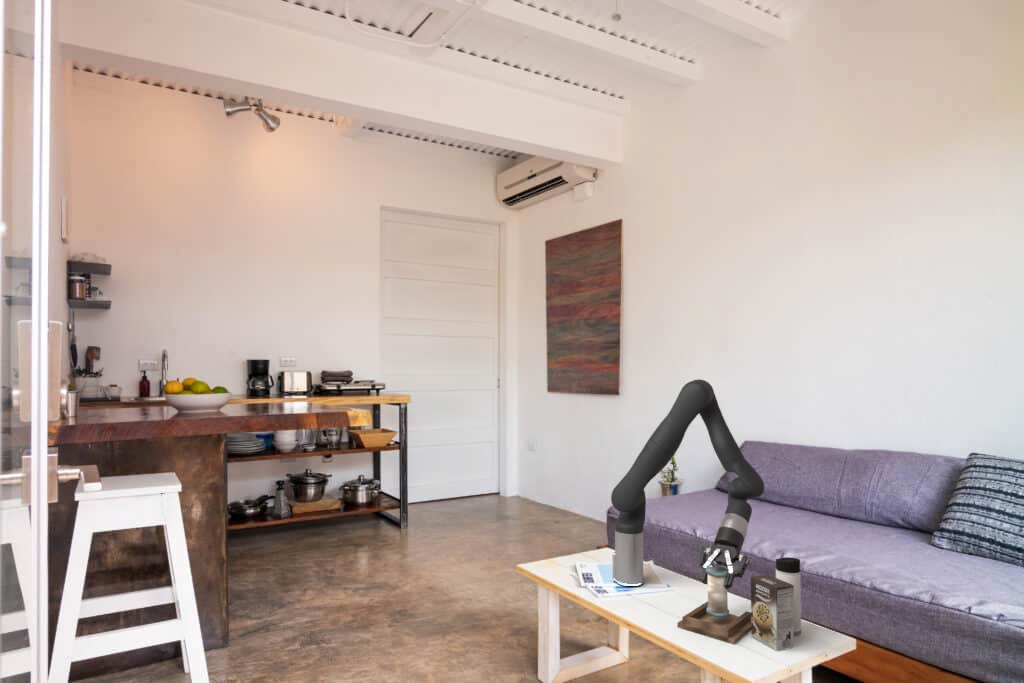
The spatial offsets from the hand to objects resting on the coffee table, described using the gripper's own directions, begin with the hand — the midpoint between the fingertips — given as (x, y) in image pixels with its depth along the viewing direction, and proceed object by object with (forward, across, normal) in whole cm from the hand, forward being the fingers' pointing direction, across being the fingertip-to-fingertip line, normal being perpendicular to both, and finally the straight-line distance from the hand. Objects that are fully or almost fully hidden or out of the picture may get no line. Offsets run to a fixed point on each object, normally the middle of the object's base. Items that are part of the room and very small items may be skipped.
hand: (714, 584), depth 177 cm
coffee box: (+7, +15, +10) cm, 19 cm away
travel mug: (0, +16, +17) cm, 23 cm away
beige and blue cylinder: (+5, 0, +7) cm, 8 cm away
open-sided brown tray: (+7, 0, +10) cm, 12 cm away
